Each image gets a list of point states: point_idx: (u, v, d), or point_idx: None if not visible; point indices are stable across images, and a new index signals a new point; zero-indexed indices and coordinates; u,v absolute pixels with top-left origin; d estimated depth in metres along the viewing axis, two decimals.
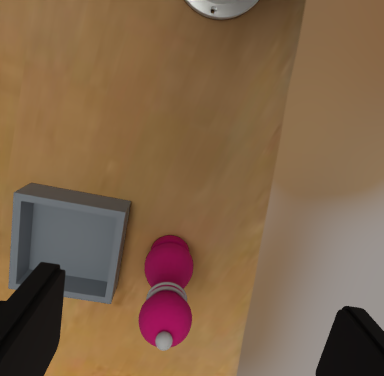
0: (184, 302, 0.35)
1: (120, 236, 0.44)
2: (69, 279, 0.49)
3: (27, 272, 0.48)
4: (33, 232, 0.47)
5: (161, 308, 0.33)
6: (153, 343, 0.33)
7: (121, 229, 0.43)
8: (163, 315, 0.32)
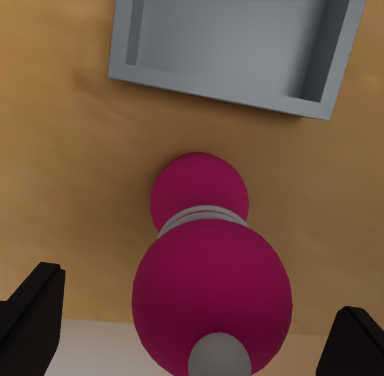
0: None
1: (277, 107, 0.20)
2: None
3: None
4: None
5: (289, 312, 0.10)
6: (172, 306, 0.09)
7: (293, 110, 0.21)
8: (279, 330, 0.10)
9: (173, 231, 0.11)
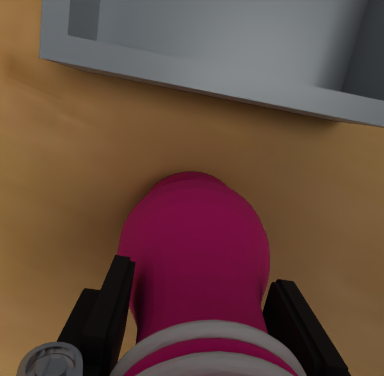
0: None
1: (317, 109, 0.13)
2: None
3: None
4: None
5: None
6: None
7: (342, 113, 0.13)
8: None
9: None
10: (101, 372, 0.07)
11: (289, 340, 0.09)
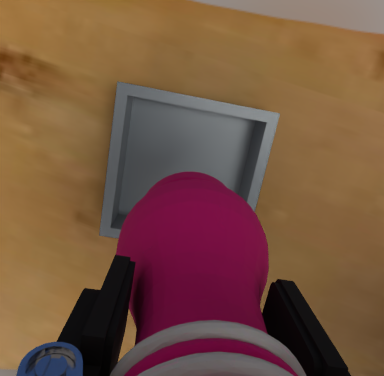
0: None
1: None
2: (123, 161, 0.32)
3: (132, 98, 0.31)
4: (195, 110, 0.32)
5: None
6: None
7: None
8: None
9: None
10: (101, 372, 0.07)
11: (289, 340, 0.09)
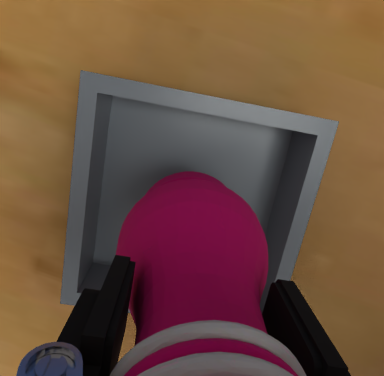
0: None
1: None
2: (98, 191, 0.22)
3: (109, 97, 0.20)
4: (204, 115, 0.22)
5: None
6: None
7: None
8: None
9: None
10: (101, 372, 0.07)
11: (289, 340, 0.09)
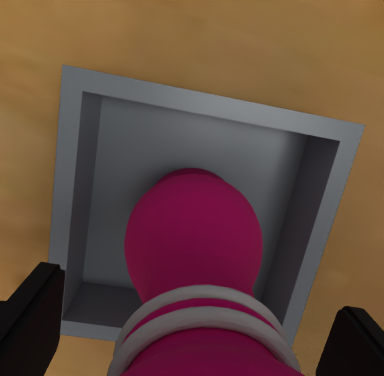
0: None
1: None
2: (86, 203, 0.19)
3: (98, 96, 0.18)
4: (208, 117, 0.19)
5: None
6: None
7: None
8: None
9: None
10: None
11: None
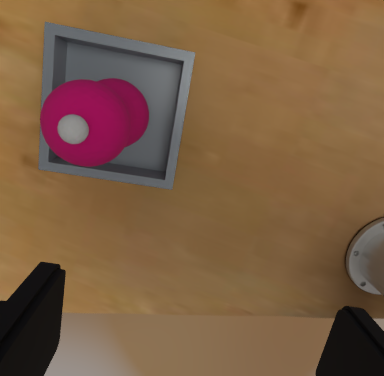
0: (119, 153, 0.23)
1: (140, 183, 0.35)
2: None
3: (64, 42, 0.34)
4: (126, 55, 0.35)
5: (119, 119, 0.20)
6: (54, 108, 0.19)
7: (149, 184, 0.36)
8: (111, 124, 0.20)
9: None
10: None
11: None
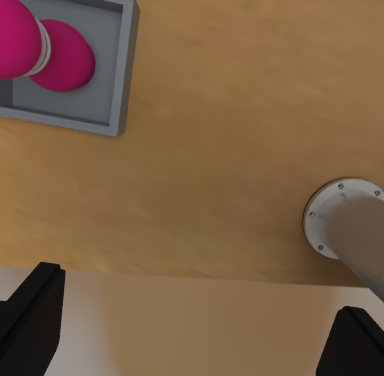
0: (30, 66, 0.23)
1: (85, 129, 0.36)
2: None
3: None
4: (73, 4, 0.36)
5: (20, 24, 0.21)
6: None
7: (94, 131, 0.36)
8: (10, 27, 0.21)
9: None
10: None
11: None
